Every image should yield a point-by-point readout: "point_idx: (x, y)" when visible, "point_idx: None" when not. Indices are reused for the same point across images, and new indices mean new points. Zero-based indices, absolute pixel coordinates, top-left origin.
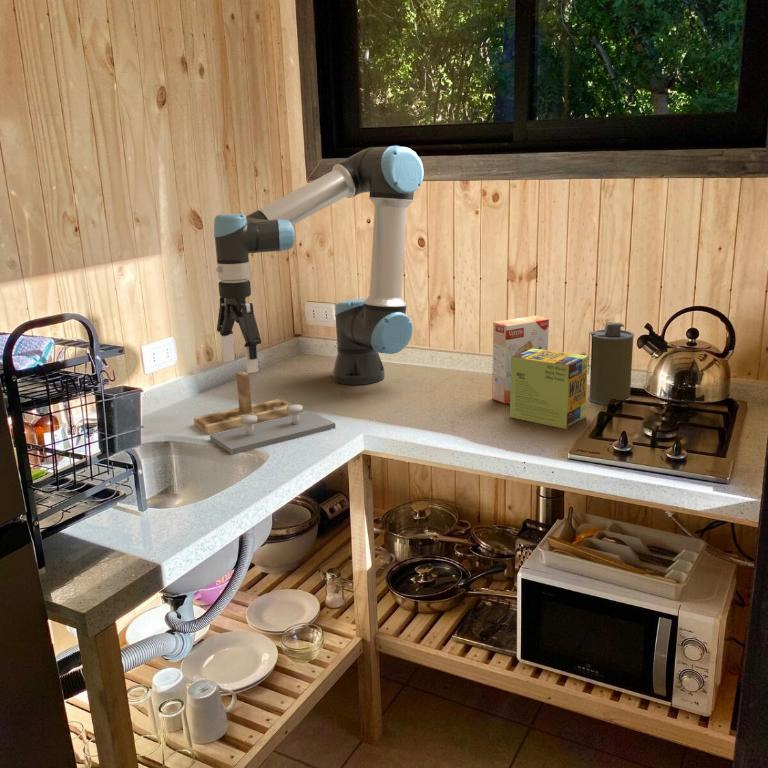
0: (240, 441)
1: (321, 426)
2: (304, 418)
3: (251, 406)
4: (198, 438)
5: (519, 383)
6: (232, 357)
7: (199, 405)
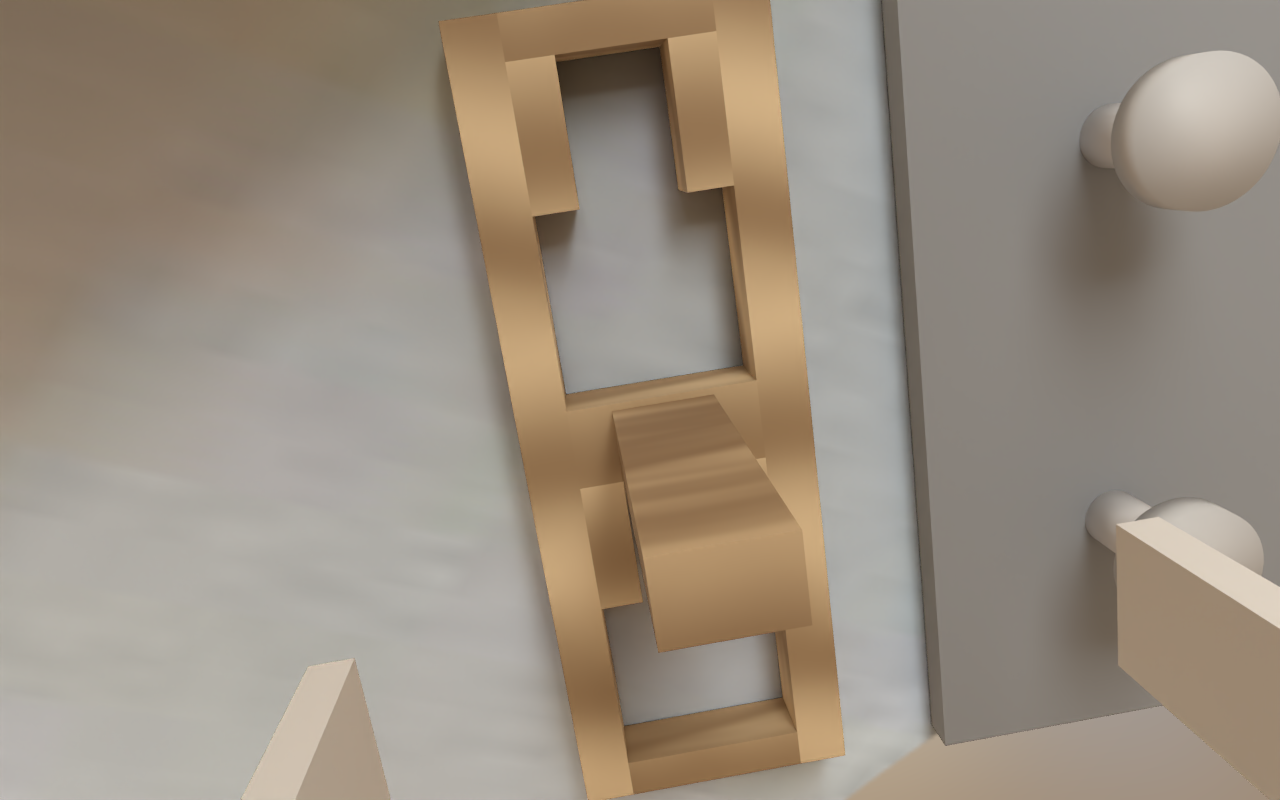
0: None
1: None
2: (1040, 17)
3: (721, 408)
4: (860, 781)
5: None
6: (352, 716)
7: (93, 653)
